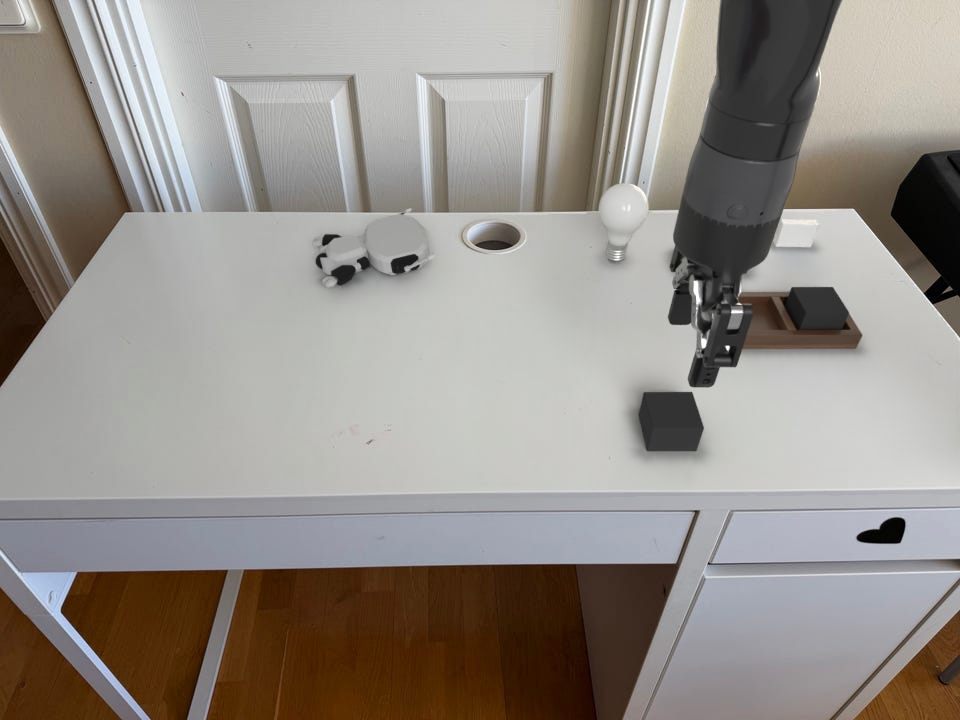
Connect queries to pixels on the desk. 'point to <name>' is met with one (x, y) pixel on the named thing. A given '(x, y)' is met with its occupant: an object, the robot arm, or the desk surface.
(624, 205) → the lightbulb
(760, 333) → the brown wooden divided tray
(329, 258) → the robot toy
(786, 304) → the black block
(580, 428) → the desk surface
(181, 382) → the desk surface
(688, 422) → the black cube-like block
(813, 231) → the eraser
